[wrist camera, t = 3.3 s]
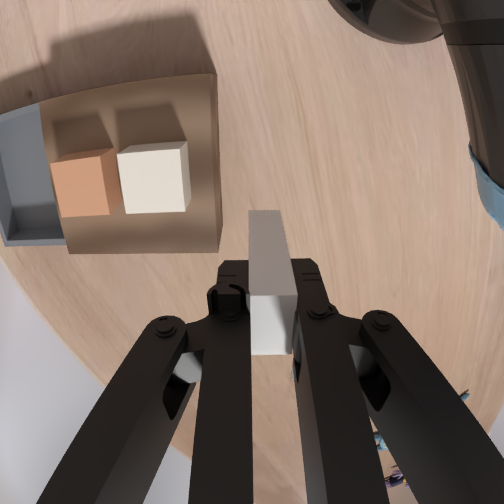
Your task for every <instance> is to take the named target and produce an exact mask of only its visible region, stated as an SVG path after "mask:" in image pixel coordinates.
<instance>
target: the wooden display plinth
mask: <svg viewBox="0 0 504 504" xmlns="http://www.w3.org/2000/svg"><path fill="white" fill-rule="evenodd" d="M39 109H40V118H41V126H42V133H43V140H44V146H45V152H46V158H47V164H48V169H49V174H50V179H51V184H52V189H53V194H54V198H55V202H56V207H57V211H58V215H59V219H60V223H61V226H62V230H63V234H64V237H65V241H66V244H67V248H68V251H69V254H138V253H218V250H219V244H220V238H221V233H222V227H223V217H222V198H221V176H220V152H219V125H218V92H217V74H211V73H205V74H191V75H180V76H170V77H161V78H153V79H146V80H138V81H132V82H126V83H120V84H114V85H108V86H103V87H98V88H93V89H89V90H84V91H79V92H75V93H71V94H67V95H63V96H59V97H55V98H51V99H48V100H44V101H40V102H39ZM178 141H187V146H188V160H189V174H190V186H191V200H190V202H189V204H188V206H187V209H186V211H185V212H159V213H135V214H126V211H125V205H124V199H123V193H122V187H121V181H120V174H119V167H118V159H117V154H118V153H119V152H121V151H122V150H124V149H126V148H127V147H129V146H131V145H141V144H152V143H164V142H178ZM105 148H114V150H115V158H116V165H117V172H118V179H119V186H120V192H121V198H122V202H121V203H120V204H119V205H118V206H117V207H116V208H115V209H114V210H113V212H112V213H111V214H110V215H95V216H78V217H63V218H62V217H61V212H60V208H59V204H58V200H57V195H56V191H55V186H54V181H53V176H52V171H51V166H50V163H52V162H54V161H55V160H57V159H59V158H61V157H62V156H64V155H66V154H71V153H77V152H84V151H91V150H98V149H105Z"/></svg>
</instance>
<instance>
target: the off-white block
mask: <svg viewBox="0 0 504 504" xmlns="http://www.w3.org/2000/svg"><path fill="white" fill-rule="evenodd" d="M117 159H118V167H119V174H120V181H121V187H122V193H123V199H124V205H125V211H126V214H135V213H159V212H185V211H186V209H187V206H188V204H189V202H190V200H191V186H190V174H189V160H188V146H187V141H178V142H164V143H152V144H141V145H131V146H129V147H127V148H126V149H124V150H122V151H121V152H119V153H118V154H117Z"/></svg>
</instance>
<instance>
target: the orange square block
mask: <svg viewBox="0 0 504 504" xmlns="http://www.w3.org/2000/svg"><path fill="white" fill-rule="evenodd" d="M50 166H51V171H52V176H53V181H54V186H55V191H56V195H57V200H58V204H59V208H60V212H61V217H62V218H63V217H78V216H95V215H110V214H111V213H112V212H113V210H114V209H115V208H116V207H117V206H118V205H119V204H120V203H121V202H122V198H121V192H120V186H119V179H118V172H117V165H116V158H115V150H114V148H105V149H98V150H91V151H84V152H77V153H71V154H66V155H64V156H62V157H61V158H59V159H57V160H55V161H54V162H52V163H50Z"/></svg>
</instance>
